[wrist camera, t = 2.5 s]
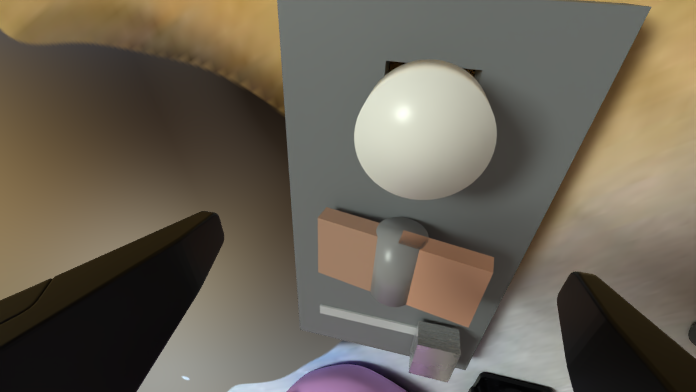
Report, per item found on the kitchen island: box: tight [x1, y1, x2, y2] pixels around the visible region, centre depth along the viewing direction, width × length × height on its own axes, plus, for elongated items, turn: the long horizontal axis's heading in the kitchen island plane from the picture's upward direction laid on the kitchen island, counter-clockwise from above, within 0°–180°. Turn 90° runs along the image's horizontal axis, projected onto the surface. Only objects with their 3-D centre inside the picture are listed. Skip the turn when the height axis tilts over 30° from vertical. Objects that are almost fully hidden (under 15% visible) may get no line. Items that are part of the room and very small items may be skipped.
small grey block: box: [409, 321, 461, 382], centre depth 24 cm, size 3×4×2 cm
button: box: [354, 59, 497, 200], centre depth 14 cm, size 6×6×4 cm
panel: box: [277, 0, 651, 370], centre depth 22 cm, size 15×27×2 cm, turn 177°
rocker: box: [318, 207, 494, 327], centre depth 20 cm, size 10×5×3 cm, turn 88°
